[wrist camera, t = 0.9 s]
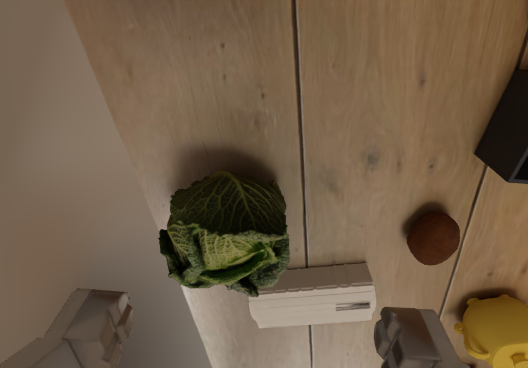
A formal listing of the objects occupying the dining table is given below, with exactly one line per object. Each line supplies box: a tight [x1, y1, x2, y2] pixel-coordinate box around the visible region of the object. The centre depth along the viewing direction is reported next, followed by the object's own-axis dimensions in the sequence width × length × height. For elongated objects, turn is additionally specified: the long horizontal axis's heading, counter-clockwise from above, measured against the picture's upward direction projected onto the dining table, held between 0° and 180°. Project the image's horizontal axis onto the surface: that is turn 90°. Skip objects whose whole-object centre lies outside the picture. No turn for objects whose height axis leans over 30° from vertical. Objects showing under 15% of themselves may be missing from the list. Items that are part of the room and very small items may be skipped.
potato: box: [407, 212, 460, 265], centre depth 56 cm, size 8×11×8 cm
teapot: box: [454, 294, 528, 368], centre depth 66 cm, size 14×20×13 cm
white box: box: [248, 262, 376, 328], centre depth 66 cm, size 25×15×7 cm, turn 99°
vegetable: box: [158, 170, 290, 297], centre depth 49 cm, size 20×19×20 cm
